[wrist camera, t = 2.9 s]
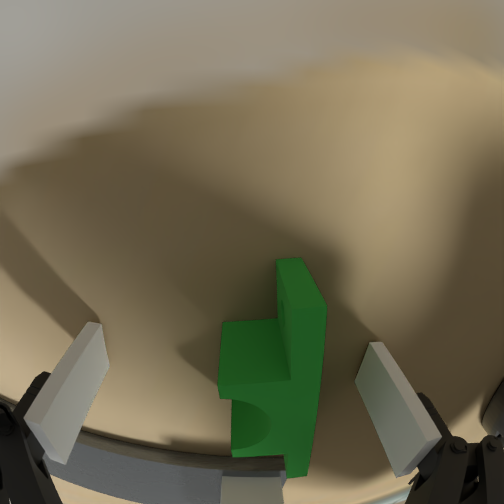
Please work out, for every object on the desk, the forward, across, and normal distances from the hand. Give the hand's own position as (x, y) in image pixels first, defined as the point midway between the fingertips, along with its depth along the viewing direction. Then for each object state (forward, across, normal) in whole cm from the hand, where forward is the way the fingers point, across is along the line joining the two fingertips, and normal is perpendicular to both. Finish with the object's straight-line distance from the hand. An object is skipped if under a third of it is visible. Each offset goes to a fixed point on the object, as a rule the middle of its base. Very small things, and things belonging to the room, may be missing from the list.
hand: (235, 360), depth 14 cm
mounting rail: (0, +10, +14) cm, 17 cm away
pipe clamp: (0, -2, 0) cm, 2 cm away
